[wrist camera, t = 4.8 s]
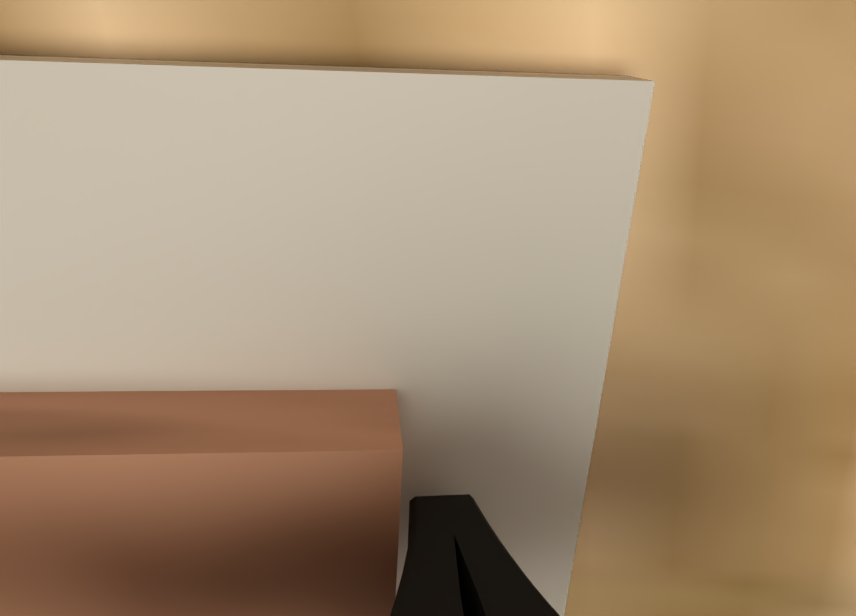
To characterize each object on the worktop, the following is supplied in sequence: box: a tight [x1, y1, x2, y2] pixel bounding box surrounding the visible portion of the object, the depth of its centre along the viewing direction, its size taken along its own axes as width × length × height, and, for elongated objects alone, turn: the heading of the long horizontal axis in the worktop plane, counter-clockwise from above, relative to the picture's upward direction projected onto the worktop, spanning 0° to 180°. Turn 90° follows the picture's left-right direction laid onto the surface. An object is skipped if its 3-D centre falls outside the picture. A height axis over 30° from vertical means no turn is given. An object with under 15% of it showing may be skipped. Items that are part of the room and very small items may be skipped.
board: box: [0, 55, 655, 616], centre depth 14 cm, size 18×13×1 cm
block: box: [0, 390, 403, 616], centre depth 13 cm, size 6×8×2 cm
